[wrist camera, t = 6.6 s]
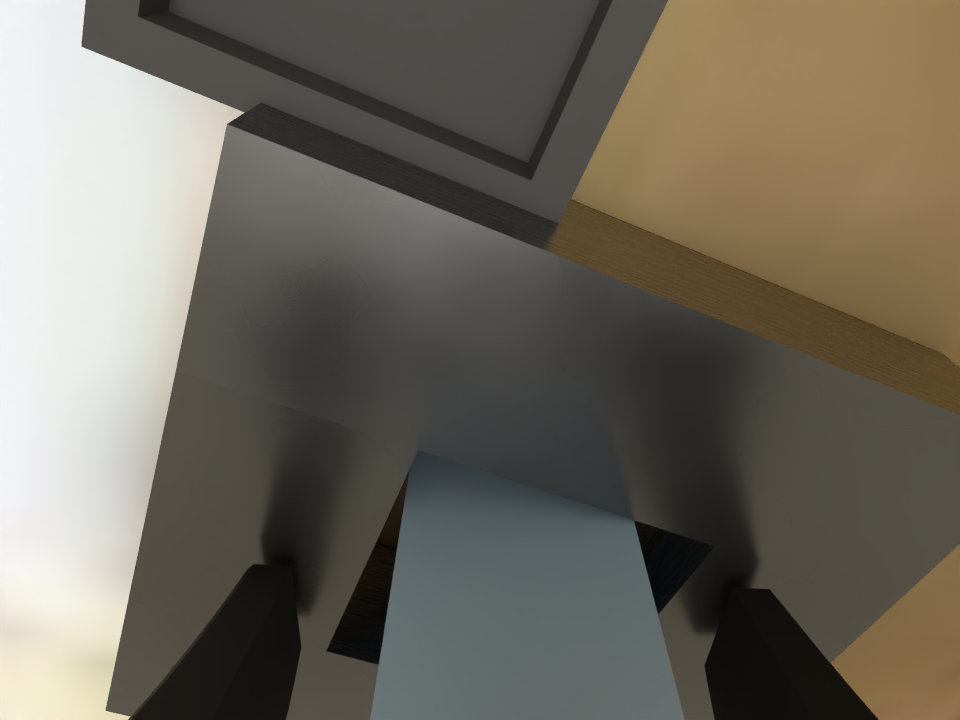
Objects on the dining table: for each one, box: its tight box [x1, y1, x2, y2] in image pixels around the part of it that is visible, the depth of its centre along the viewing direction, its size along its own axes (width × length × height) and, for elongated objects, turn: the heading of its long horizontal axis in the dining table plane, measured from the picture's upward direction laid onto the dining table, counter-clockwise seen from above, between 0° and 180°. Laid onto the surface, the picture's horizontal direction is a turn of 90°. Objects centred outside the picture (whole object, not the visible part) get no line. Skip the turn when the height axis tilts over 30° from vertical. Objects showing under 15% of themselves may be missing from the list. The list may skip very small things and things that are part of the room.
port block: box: [106, 103, 960, 720], centre depth 13 cm, size 12×12×3 cm
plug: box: [370, 450, 685, 720], centre depth 10 cm, size 4×4×8 cm
